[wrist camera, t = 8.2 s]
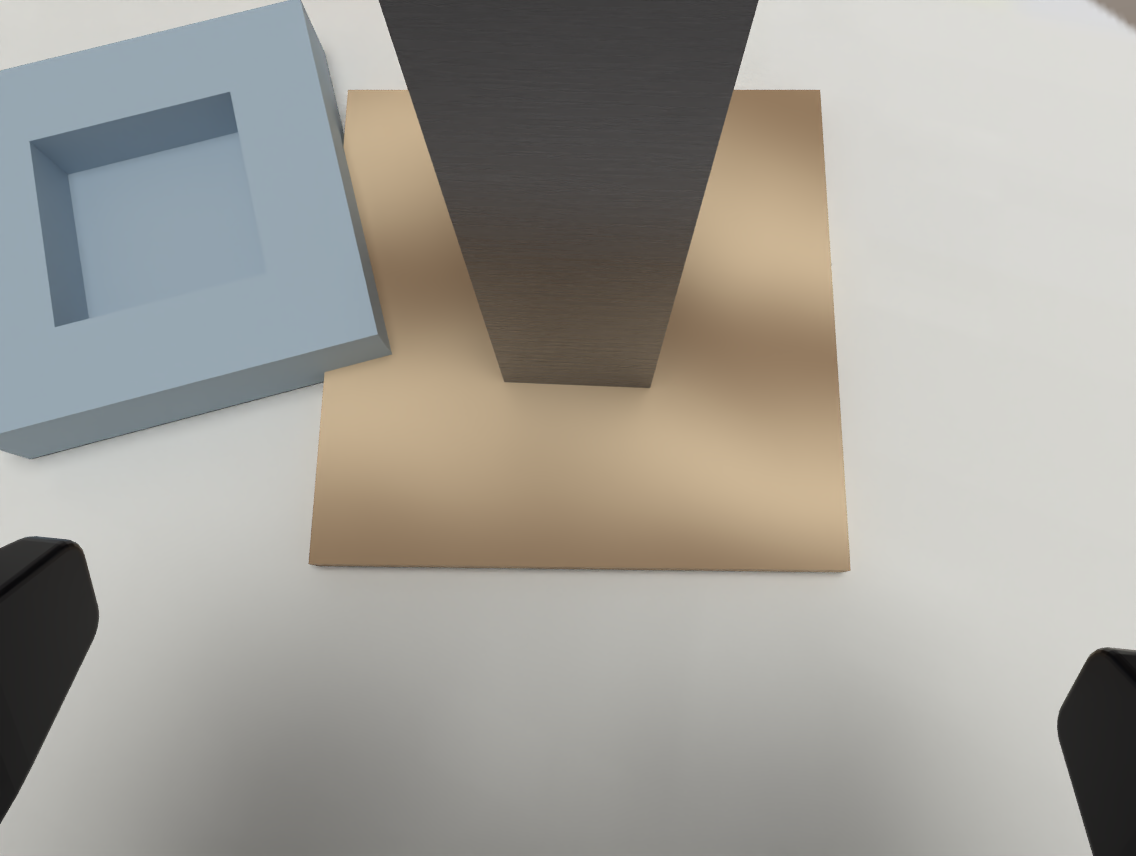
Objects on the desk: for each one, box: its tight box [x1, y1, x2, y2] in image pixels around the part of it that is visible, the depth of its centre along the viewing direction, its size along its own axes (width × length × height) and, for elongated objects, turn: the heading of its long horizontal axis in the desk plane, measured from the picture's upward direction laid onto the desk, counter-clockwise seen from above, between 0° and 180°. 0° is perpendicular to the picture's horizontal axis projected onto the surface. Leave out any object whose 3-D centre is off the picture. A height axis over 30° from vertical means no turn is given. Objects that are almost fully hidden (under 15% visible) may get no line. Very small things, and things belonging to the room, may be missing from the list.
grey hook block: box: [379, 0, 758, 388], centre depth 14 cm, size 6×3×13 cm, turn 177°
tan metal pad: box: [309, 90, 850, 572], centre depth 20 cm, size 12×12×1 cm
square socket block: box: [0, 0, 392, 459], centre depth 20 cm, size 9×9×2 cm
